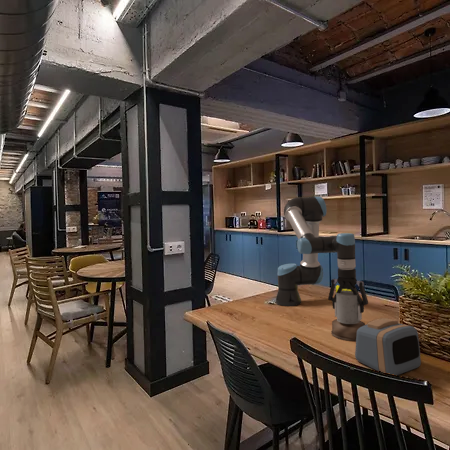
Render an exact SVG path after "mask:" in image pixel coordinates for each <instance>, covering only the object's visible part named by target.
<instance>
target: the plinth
mask: <svg viewBox="0 0 450 450" xmlns="http://www.w3.org/2000/svg"><path fill="white" fill-rule="evenodd" d="M364 325H366V323H365V322H364V321H362V320H360V322H359V323H356V324H344V323H341V322H338V321H337V318H336V319H333V320H332V321H331V331H330V332H331V336H332V337H334V338H336V339H337V340H341V341H347V342H348V341H349V342H356V336H357V330H358V329H359V328H360V327H362V326H364Z"/></svg>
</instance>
